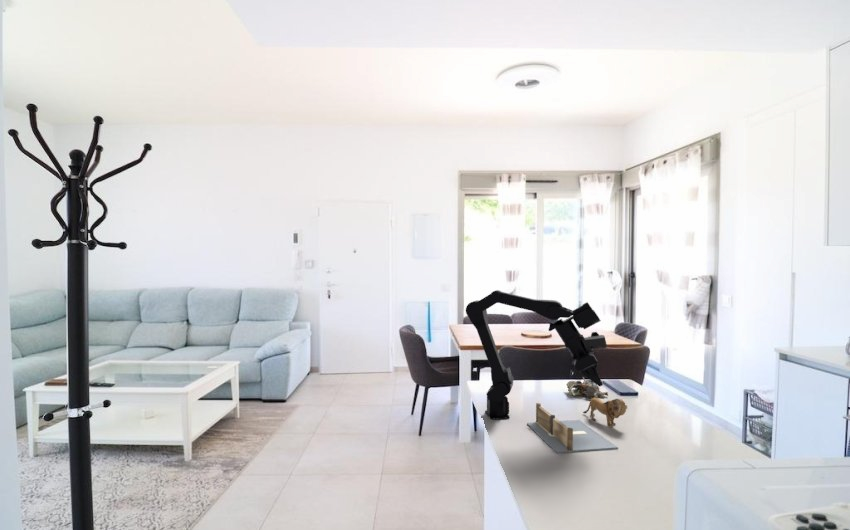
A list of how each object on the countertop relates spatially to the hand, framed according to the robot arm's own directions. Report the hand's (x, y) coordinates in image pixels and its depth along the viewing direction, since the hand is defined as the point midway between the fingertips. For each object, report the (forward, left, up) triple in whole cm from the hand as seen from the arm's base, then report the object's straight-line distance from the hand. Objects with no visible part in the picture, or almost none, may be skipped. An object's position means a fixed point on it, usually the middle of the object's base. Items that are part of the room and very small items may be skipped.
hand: (599, 381), depth 116 cm
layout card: (-11, -2, -15) cm, 19 cm away
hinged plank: (-16, -7, -14) cm, 23 cm away
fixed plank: (-16, +3, -15) cm, 22 cm away
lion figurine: (+6, +5, -15) cm, 17 cm away
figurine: (+14, +30, -15) cm, 36 cm away
